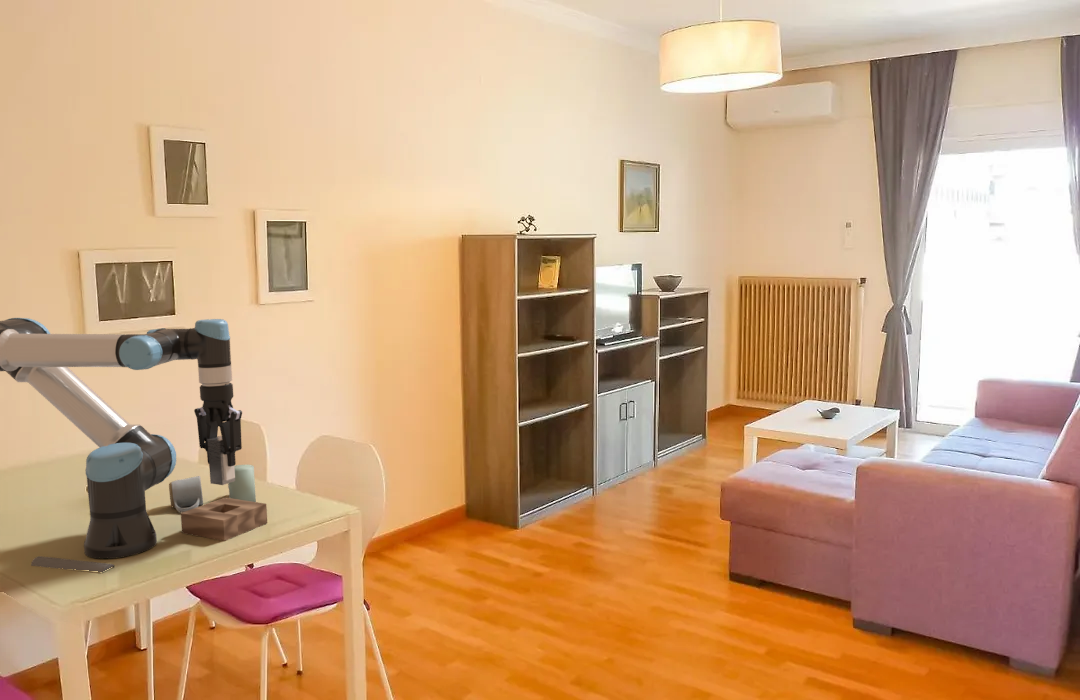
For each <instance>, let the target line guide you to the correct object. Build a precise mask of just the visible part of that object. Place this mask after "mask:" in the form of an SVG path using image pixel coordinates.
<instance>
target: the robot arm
mask: <svg viewBox="0 0 1080 700" xmlns="http://www.w3.org/2000/svg"><path fill="white" fill-rule="evenodd" d="M231 356H232V354H231V336H230V331H229V324H228V321H227V320H225V319H223V318H222V319H221V318H210V319H209V318H208V319H200V320H196V321H195V323H194V327H192V328H191V327H190V328H157V329H156V328H155V329H149V330H147V331H146V333H142V334H140V333H139V334H138V333H137V334H135V333H134V334H133V333H132V334H130V333H129V334H125V333H124V334H121V333H119V334H115V333H112V334H111V333H109V334H108V333H107V334H106V333H51V332H50V330H49V329H48V328H47V327H46V325H44V324H43V323H41V322H39V321H38V320H35V319H32V318H27V317H12V318H8V319H3V320H0V372H6V373H7V374H8V375H9V376H10V377H11V378H13V379H14V381H16V382H17V383H28V384H29V385H31V387H32V388H34V390H36V391H37V392H38V393H39V394H41V396H42V397H43V398H45V400H46V401H48V402H49V403H50V404H51V405H52V406H53V407H54V408H55V409H57V411H59V412H60V413H61V414H62V415H63V416H64V417H66V418H67V420H69V421H70V422H71V423H72V424H73V425H74V426H75V427H77V428H78V429H79V430H80V432H82V433H83V434H84V435H85V436H86V437H87V438H89V440H91V442H93V443H94V444H95V445H96V446H97V447H98V448H96V449H94V450H92V451H90V453H88V454H87V457H86V459H85V476H86V485H87V495H88V504H89V505H88V506H89V524H88V527H87V531H86V538H85V540H84V543H83V547H84V550H83V551H84V555H85V556H87V557H88V556H89V558H91V559H99V558H102V559H103V558H108V559H117V558H116V557H119V558H124V557H123V556H125V557H129V556H128V555H130V556H133V554H134V555H137V553H138V554H140V552H141V553H144V552H146V551H148V550H151V549H152V548H154V547H155V546H156V545H157V543H158V541H157V532H156V529H155V528H154V525H153V523H152V520H151V518H150V515H148V513H147V506H146V504H147V503H146V491H147V490H149V489H151V488H152V487H154V486H156V485H159V484H161V483H163V482H164V481H165V479H167V478H168V477H169V476H170V475H172V473H173V471H174V470H175V467H176V465H177V451H176V448H175V447H174V444H173V443H172V442H171V441H170V440H169V439H168V438H167V437H165V436H163V435H161V434H154V433H152V434H151V432H149V431H148V430H147V429H145V428H144V426H143V425H141V424H131V423H129V422H128V421H127V420H126V419H125V418H124V417H123V416H122V415H121V414H119V412H117V411H116V410H115V409H114V408H113V407H112V406H111V405H109V403H108V402H106V401H105V400H104V399H103V398H102V397H101V396H99V394H98V393H96V391H94V390H93V389H92V388H91V387H90V386H89V385H88V384H87V383H85V381H83V380H82V379H81V378H80V377H79V376H78V375H77V374H76V373H75V372H73V370H71V369H70V368H128V369H130V370H133V371H140V370H141V371H143V370H149V369H151V368H154V367H156V366H160V365H162V364H166V363H170V362H173V361H177V360H178V361H181V360H183V361H185V360H188V361H189V360H197V371H198V383H199V384H201V385H200V386H199V394H200V395H199V397H200V400H201V401H202V402H203V403H202V406H201V407H197V408H195V409H194V410H193V411H194V414H195V417H196V421H197V422H196V423H197V433H198V442H199V443H198V444H199V448H200V449H204V450H205V452H206V455H207V456H206V458H207V464H208V465H209V455H208V441H207V439H210V438H214V437H218V431H219V429H220V434H221V435H220V436H222V440H223V444H224V449H225V452H223V466H224V480H230V479H233V478H235V468H234V466H236V465H237V464H236V462H237V461H236V452H238V451H240V450H242V449H243V448H242V447H243V446H242V443H243V442H242V415H243V411H242V410H241V409H239V410H237V409H236V408H234V405H233V404H232V400H233V398H234V384H233V383H232V381H233V371H232V369H233V368H232V357H231ZM209 470H210V468H209ZM143 551H144V552H143Z"/></svg>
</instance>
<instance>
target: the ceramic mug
mask: <svg viewBox="0 0 1080 700" xmlns="http://www.w3.org/2000/svg"><path fill="white" fill-rule="evenodd" d="M168 488H169V489H168V491H169V500H170V506H171V508H173V509H174V508H175V509H176V510H177V511H178V512H179V513H182V512H185V511H188V510H191V509H194V508H196V507H199V506H202V505H204V497H203V489H202V480H201V476H200V475H197V476H196V475H195V476H193V477H188V478H182V479H176V480H173V481H171V482H169V483H168Z"/></svg>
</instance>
